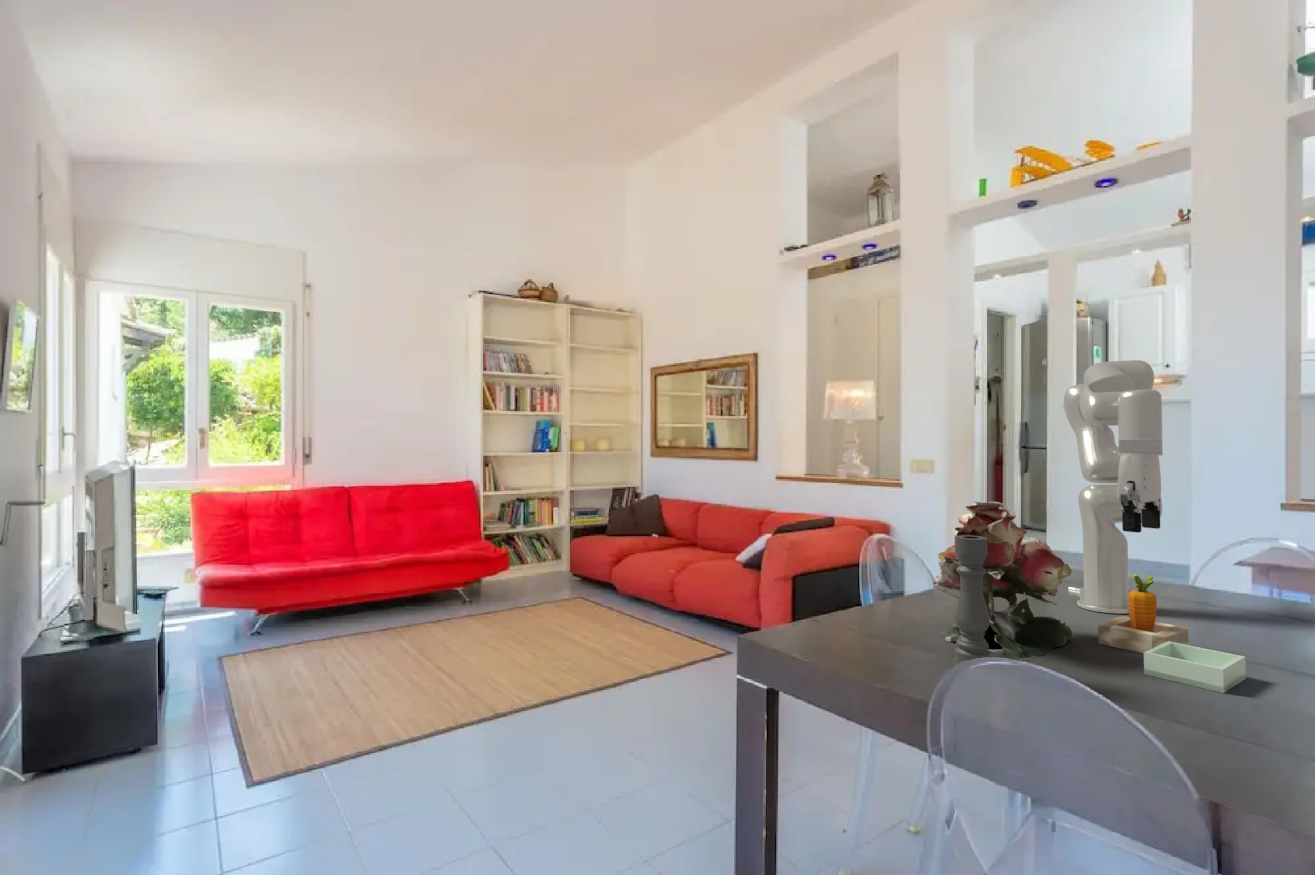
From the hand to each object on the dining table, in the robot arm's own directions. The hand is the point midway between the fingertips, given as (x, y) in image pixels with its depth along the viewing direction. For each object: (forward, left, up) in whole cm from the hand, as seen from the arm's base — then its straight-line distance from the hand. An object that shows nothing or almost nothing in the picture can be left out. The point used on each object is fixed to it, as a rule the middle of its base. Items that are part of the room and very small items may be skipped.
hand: (1141, 529), depth 141 cm
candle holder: (-13, -42, -24) cm, 50 cm away
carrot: (0, 0, -24) cm, 25 cm away
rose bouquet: (-22, -18, -25) cm, 38 cm away
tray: (+13, -14, -24) cm, 31 cm away
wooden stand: (0, 0, -24) cm, 24 cm away
